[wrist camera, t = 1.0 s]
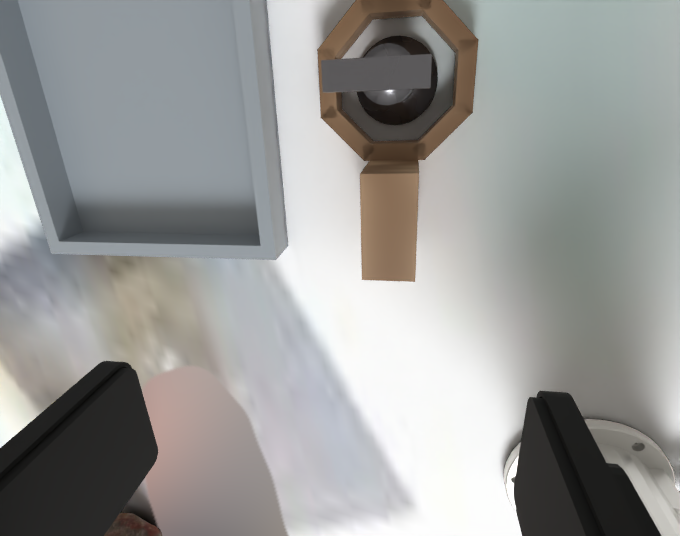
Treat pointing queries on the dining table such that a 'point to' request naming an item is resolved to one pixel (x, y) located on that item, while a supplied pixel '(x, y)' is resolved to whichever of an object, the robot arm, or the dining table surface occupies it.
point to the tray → (146, 125)
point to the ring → (401, 155)
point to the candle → (132, 526)
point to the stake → (386, 79)
